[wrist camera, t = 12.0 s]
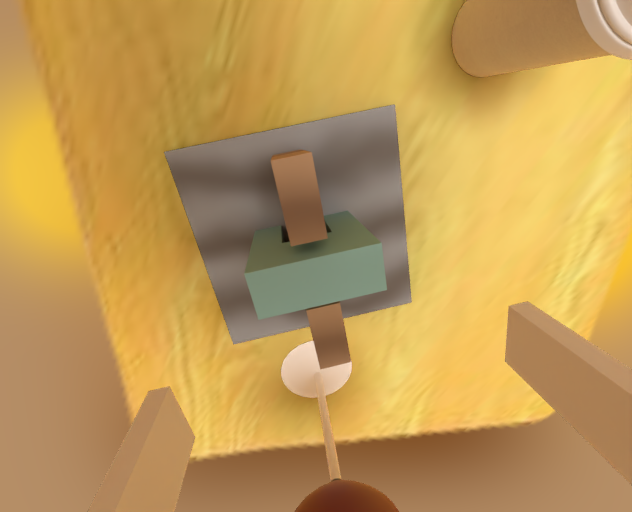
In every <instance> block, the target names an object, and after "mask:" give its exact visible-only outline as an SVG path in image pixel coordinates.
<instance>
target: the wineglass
mask: <svg viewBox="0 0 632 512" xmlns="http://www.w3.org/2000/svg"><path fill="white" fill-rule="evenodd" d="M351 371H352V361H351V362H349V363H345V364H341V365H337V366H333V367H329V368H324V369H320V366H319V362H318V358H317V354H316V349H315V345H314V341H309V342H306V343H304V344H301V345H299V346H297V347H296V348H295V349H293V350H292V351H290V353H289V354H288V355H287V357H286V358H285V359H284V361H283V364H282V367H281V377H282V380H283V382H284V384H285V386H286V387H287V388H288V389H289V390H290V391H292V392H293V393H295V394H297V395H299V396H302V397H309V398H316V397H318V403H319V409H320V416H321V422H322V428H323V435H324V441H325V447H326V454H327V460H328V466H329V472H330V479H331V482H330V483H328V484H325V485H323V486H321V487H319V488H318V489H316V490H315V491H313V492H312V493H311V494H309V495H308V496H307V497H306V498H305V499H304V500H303V501H302V502H301V504H300V505H299V506H298V507H297V509H296V510H295V512H399V511H398V509H397V508H396V507H395V505H394V504H393V502H392V501H390V499H389V498H387V496H385V495H384V494H383V493H382V492H380V491H378V490H376V489H375V488H373V487H371V486H369V485H366V484H363V483H359V482H356V481H347V480H341V475H340V469H339V465H338V459H337V454H336V448H335V443H334V438H333V433H332V427H331V422H330V417H329V412H328V406H327V401H326V395H329V394H332V393H334V392H335V391H337V390H338V389H340V388H341V387H342V386H343V385H344V384H345V383H346V381H347V380H348V379H349V376H350V374H351Z"/></svg>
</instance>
